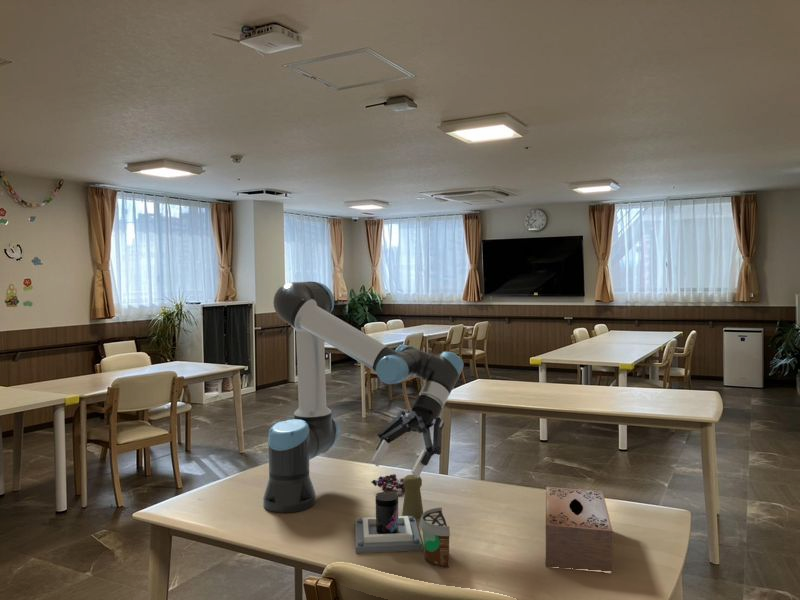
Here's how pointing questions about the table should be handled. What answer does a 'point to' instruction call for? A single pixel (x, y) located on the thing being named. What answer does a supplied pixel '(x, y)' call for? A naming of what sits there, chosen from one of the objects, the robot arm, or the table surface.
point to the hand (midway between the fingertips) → (394, 469)
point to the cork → (412, 497)
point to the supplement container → (387, 513)
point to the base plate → (387, 536)
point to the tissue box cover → (577, 529)
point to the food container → (435, 538)
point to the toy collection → (390, 483)
